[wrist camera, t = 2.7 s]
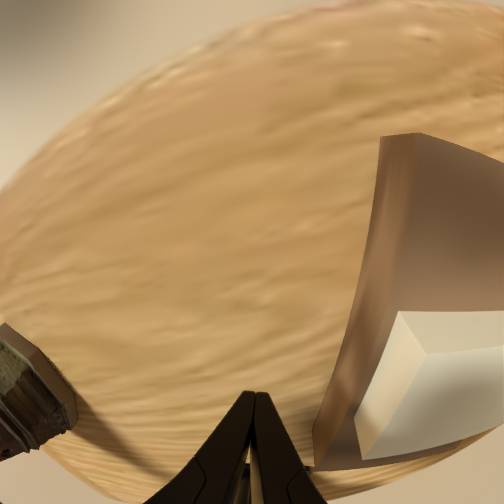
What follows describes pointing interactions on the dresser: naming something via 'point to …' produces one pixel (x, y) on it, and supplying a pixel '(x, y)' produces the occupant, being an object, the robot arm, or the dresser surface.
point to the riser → (414, 271)
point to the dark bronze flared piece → (30, 397)
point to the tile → (434, 383)
